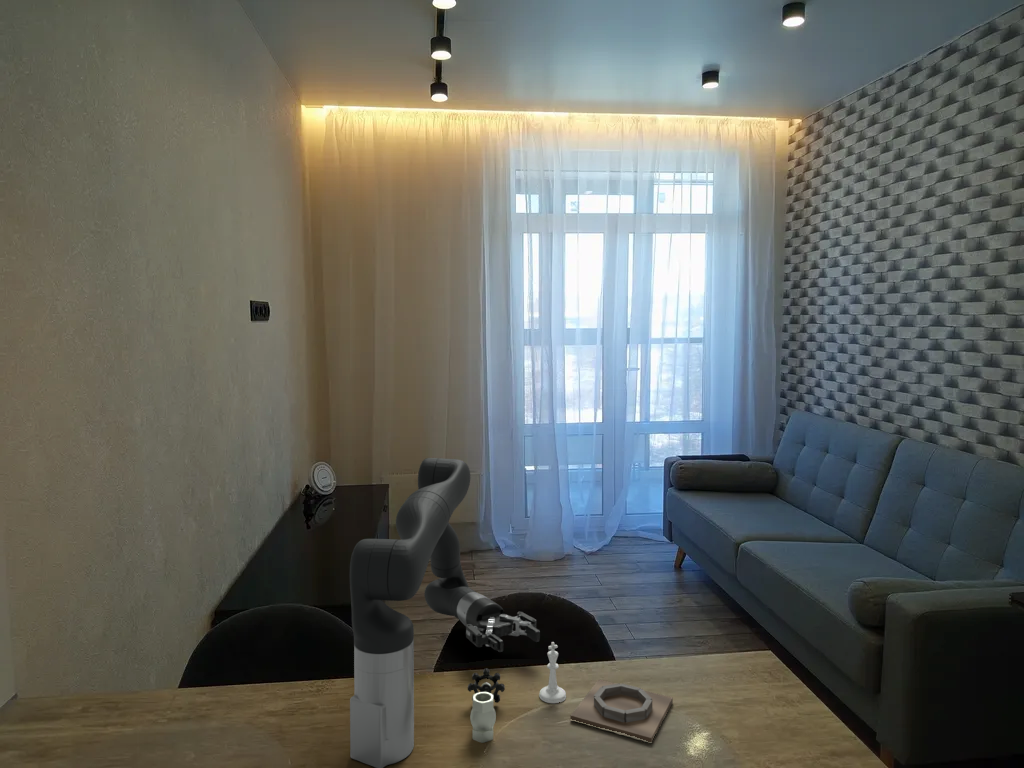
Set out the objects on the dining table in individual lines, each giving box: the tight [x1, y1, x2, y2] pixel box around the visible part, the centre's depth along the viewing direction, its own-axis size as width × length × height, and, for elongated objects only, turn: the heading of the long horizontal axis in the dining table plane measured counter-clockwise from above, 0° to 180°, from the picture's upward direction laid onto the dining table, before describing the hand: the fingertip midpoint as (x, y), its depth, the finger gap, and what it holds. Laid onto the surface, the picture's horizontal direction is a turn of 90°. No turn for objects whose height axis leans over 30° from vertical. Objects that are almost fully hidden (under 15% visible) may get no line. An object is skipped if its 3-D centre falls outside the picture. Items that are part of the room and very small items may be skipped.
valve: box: [467, 667, 506, 744], centre depth 108 cm, size 7×7×12 cm
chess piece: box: [539, 641, 567, 704], centre depth 117 cm, size 5×5×10 cm
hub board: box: [569, 679, 674, 743], centre depth 111 cm, size 14×14×2 cm
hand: (520, 641), depth 126 cm, fingers open, 8 cm apart
